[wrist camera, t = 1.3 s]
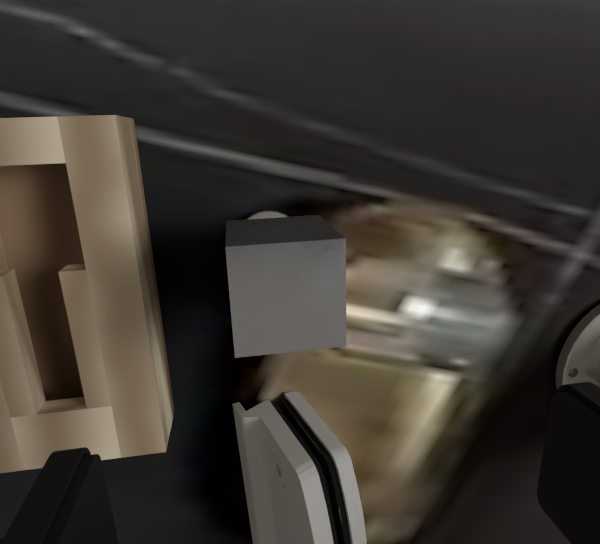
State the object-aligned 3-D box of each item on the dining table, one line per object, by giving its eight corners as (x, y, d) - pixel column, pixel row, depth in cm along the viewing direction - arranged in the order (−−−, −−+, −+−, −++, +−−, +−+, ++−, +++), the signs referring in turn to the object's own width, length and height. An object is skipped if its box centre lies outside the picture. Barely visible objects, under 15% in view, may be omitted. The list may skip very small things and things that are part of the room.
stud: (303, 202, 29) (345, 238, 18) (306, 275, 30) (346, 346, 20) (227, 207, 28) (225, 246, 18) (233, 280, 30) (234, 357, 19)
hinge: (231, 399, 32) (294, 487, 24) (288, 379, 34) (365, 453, 26) (256, 569, 37) (316, 691, 29) (305, 542, 39) (374, 649, 31)
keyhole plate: (133, 118, 26) (115, 114, 22) (174, 410, 32) (165, 451, 28) (-72, 125, 24) (-135, 122, 20) (11, 429, 30) (-25, 476, 26)
